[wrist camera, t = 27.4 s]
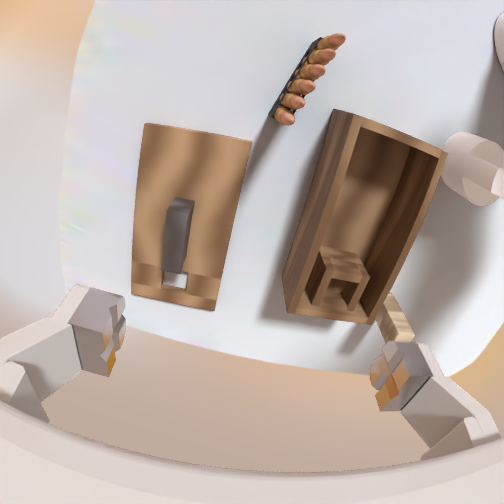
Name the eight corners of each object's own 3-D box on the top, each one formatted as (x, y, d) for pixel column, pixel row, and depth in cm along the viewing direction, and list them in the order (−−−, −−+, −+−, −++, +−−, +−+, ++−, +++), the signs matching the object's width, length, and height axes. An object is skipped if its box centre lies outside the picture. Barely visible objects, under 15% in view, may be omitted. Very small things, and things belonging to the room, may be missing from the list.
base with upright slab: (489, 143, 34) (543, 167, 24) (473, 197, 39) (521, 232, 28) (448, 122, 33) (504, 141, 23) (431, 182, 38) (480, 216, 27)
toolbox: (416, 139, 35) (448, 153, 28) (356, 290, 46) (371, 324, 39) (333, 108, 34) (353, 113, 27) (281, 276, 45) (286, 312, 38)
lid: (252, 141, 36) (252, 149, 31) (215, 306, 48) (211, 331, 43) (147, 122, 34) (131, 128, 29) (133, 288, 46) (122, 311, 41)
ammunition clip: (281, 122, 35) (294, 136, 24) (267, 114, 34) (275, 125, 24) (326, 50, 30) (358, 34, 20) (312, 42, 30) (339, 22, 19)
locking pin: (376, 290, 46) (398, 333, 38) (392, 293, 47) (415, 335, 38) (369, 305, 48) (388, 349, 39) (384, 307, 48) (405, 350, 39)
